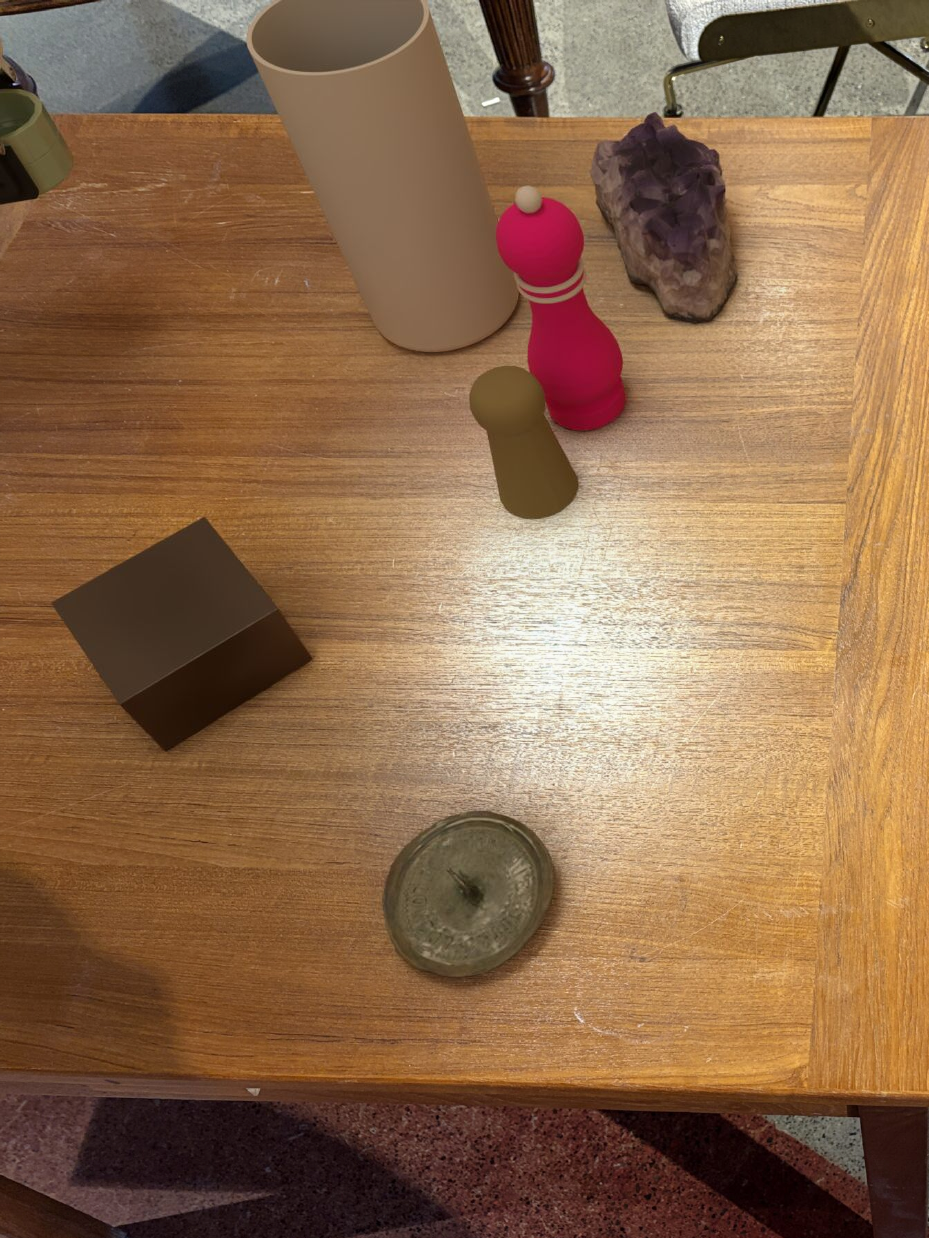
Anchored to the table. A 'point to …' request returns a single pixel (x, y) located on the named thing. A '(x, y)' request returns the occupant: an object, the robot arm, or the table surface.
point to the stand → (182, 633)
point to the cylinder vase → (389, 163)
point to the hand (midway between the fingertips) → (22, 166)
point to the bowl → (34, 138)
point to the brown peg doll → (522, 443)
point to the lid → (467, 894)
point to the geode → (668, 217)
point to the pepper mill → (561, 313)
